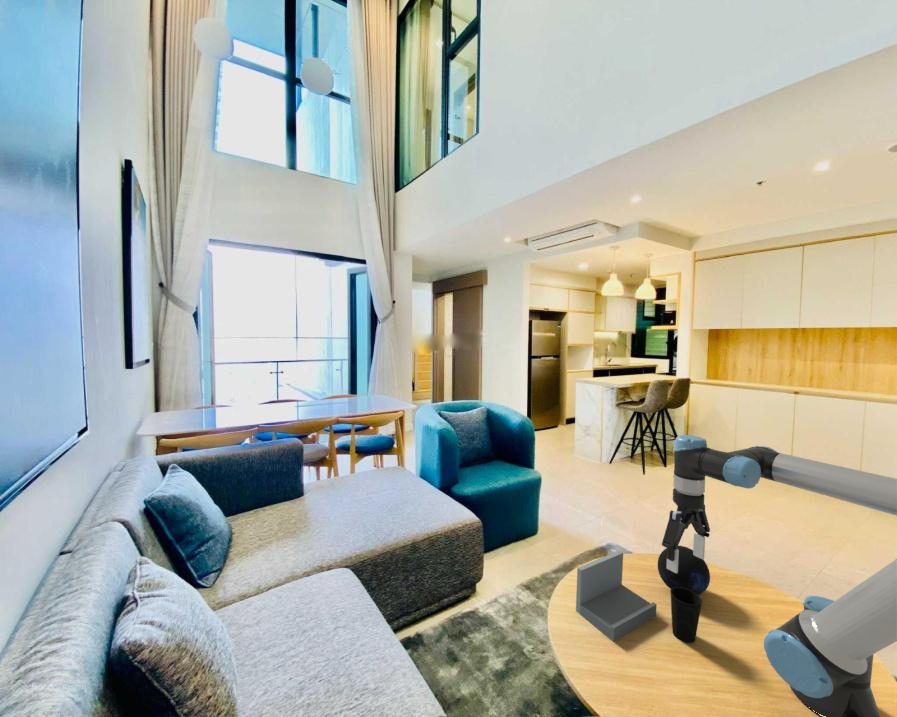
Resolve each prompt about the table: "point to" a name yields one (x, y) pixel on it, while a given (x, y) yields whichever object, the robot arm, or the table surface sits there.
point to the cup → (685, 613)
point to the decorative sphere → (685, 571)
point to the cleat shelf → (610, 598)
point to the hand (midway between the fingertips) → (685, 563)
